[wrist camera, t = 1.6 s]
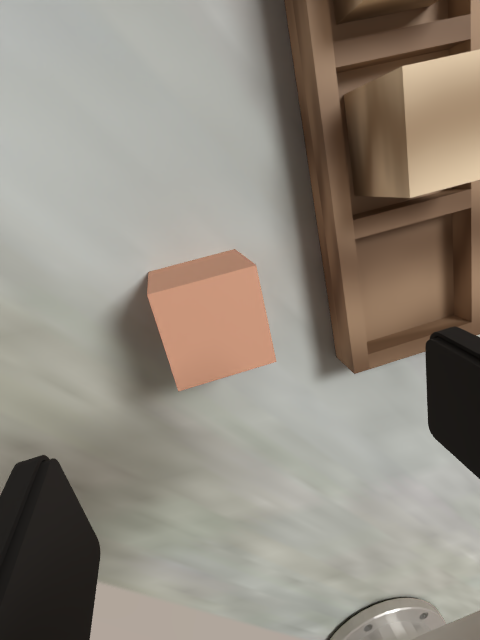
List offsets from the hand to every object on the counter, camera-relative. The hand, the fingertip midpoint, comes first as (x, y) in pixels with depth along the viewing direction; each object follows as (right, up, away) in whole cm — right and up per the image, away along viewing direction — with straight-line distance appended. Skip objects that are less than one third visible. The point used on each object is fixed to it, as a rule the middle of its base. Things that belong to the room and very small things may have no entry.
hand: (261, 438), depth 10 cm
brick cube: (-3, +4, +13) cm, 14 cm away
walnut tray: (+7, +13, +12) cm, 19 cm away
